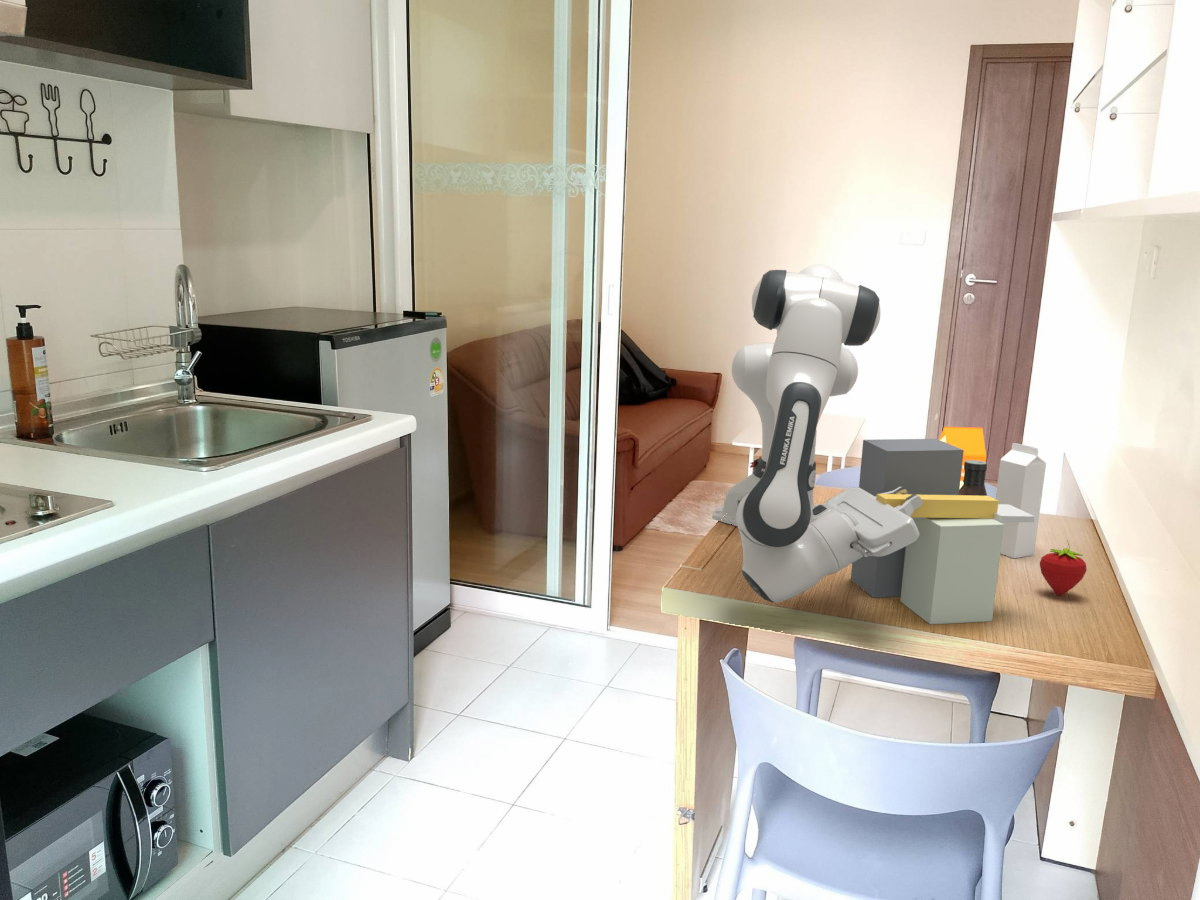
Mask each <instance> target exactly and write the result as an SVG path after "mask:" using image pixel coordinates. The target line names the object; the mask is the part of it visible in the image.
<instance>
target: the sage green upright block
mask: <svg viewBox="0 0 1200 900" xmlns="http://www.w3.org/2000/svg"><path fill="white" fill-rule="evenodd" d="M911 518H912V519H913V520H914V522H915V524H916V526H917V529H918V531H919V534H920V535H919V537H918V539H917V540H916V541H915V542H913V543H911V544H909V545H907V546H906V550H905V559H904V569H903V579H902V589H901V597H900V599H899V600H900V601H899V602H900V603H902V604H903V605H904V606H906V607H907V608H908V609H910V610H911V611H912V612H913V613H915V614H916V615H918V616H919V617H920V618H921V619H922V620H924V621H925V622H926V623H928V624H929V625H944V624H945V625H947V624H963V623H966V624H967V623H981V622H982V623H983V622H993V618H994V617H993V615H994V608H995V602H996V600H995V599H996V593H997V592H996V591H997V586H998V585H997V584H998V576H999V568H1000V561H1001V560H1000V559H1001V555H1002V554H1001V546H1002V538H1003V530H1004V524H1002V523H1000V522H998V521H996V520H994V519H993V518H923V517H911Z"/></svg>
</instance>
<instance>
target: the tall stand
mask: <svg viewBox="0 0 1200 900" xmlns="http://www.w3.org/2000/svg"><path fill="white" fill-rule="evenodd" d="M861 448H862V449H861V461H860V471H859V472H860V473H859V483H858V487H860V488H861V489H863V490H865V491H866V492H868V493H870V494H871V495H873V496H877V494H881V493H885V492H890V491H893V490H895V489H897V488H898V487H902V488H904V489H906V490H907V493H908V494H916V495H959V489H960V480H961V472H962V463H963V454H964V450H963V449H960V448H958V447H955V446H953V445H950V444H948V443H946V442H943V441H941V440H939V439H938V438H897V439H891V438H890V439H889V438H888V439H887V438H886V439H863V440H862V447H861ZM905 550H906V546H905V547H903V548H901V549H899V550H897V551H895V552H893V553H891V554H888V555H886V556H882V557H877V556H868V557H864V556H863V557H862V558H860V559H858V560H857V561H855V562H853V563H852V564H851V570H850V571H851V573H850V580H851V581H852V582H853V583H854V584H855V585H857V586H858V587H859V588H861V589H862V590H863V591H864V592H866V593H867V595H869V596H870V595H871V596H870V597H872V598H873V599H875V598H876V599H878V598H881V599H882V598H899V597H900V598H901V589H902V579H903V569H904V559H905Z"/></svg>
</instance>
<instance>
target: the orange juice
mask: <svg viewBox="0 0 1200 900" xmlns="http://www.w3.org/2000/svg"><path fill="white" fill-rule="evenodd" d="M938 440H941V441H943V442H946V443H948V444H950V445H953V446H955V447H958V448H960V449H963V450H964V454H963V463H962V472H961V480H960V488H961V487H962V486H963V484H964V483H963V480H964V472H965V470H964V462H965V461H966V460H979V461H984V462H986V463H987V454H986V453H987V452H986V446H985V444H986V443H985V437H984V429H983V427H970V426H969V427H967V426H965V427H963V426H962V427H961V426H944V427H943V430H942V432H941V435H940V437H939V439H938Z"/></svg>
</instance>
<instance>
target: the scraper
mask: <svg viewBox="0 0 1200 900" xmlns="http://www.w3.org/2000/svg"><path fill="white" fill-rule="evenodd" d="M911 495H912V494H877V496H876V500H877V501H879V502H881V503H883V504H884V505H885V504H889V505H890V506H892V507H894V508H895V507H897V506H899V505H900V506H902V505H903V504H904V503H905V502H906V498H907V497H909V496H911ZM918 496H919V497H920V498H921V500H922V502H923V504H922V506H920V507H918V508H917V509H915V510H914V512H913V513H912V514H911V516H910V517H923V518H992V519H993V518H994V519H996V520H998V521H1000V522H1034V518H1035V516H1033V515H1031V514H1028V513H1026V512H1024V511H1022V510H1020V509H1018V508H1016V507H1014V506H1011V505H1008V504H999V500H996V498H994V497H991V496H990V495H987V496H973V495H918Z"/></svg>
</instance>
